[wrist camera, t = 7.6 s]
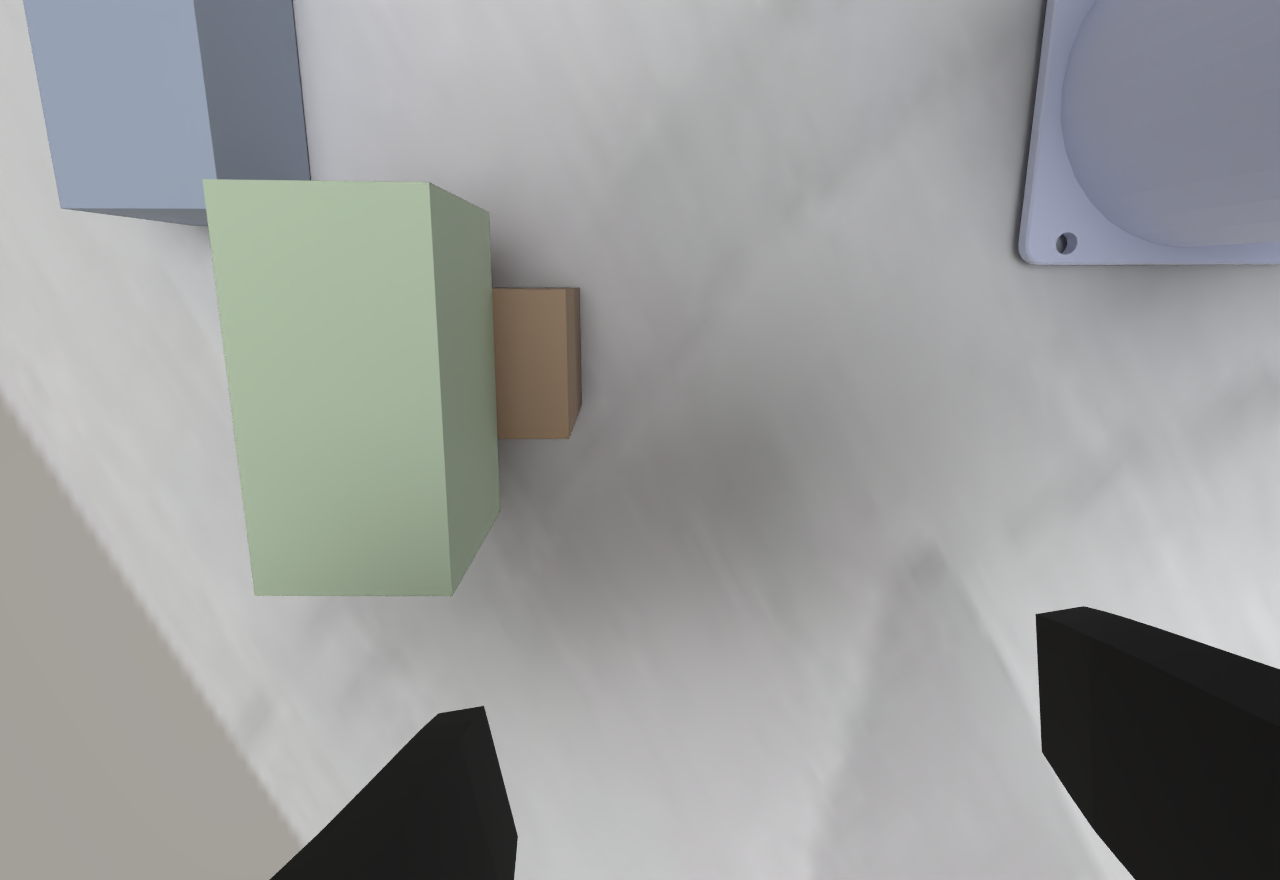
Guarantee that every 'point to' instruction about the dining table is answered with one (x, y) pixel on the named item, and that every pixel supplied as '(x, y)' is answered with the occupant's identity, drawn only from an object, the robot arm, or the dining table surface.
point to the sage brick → (358, 381)
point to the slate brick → (166, 100)
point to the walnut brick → (537, 361)
